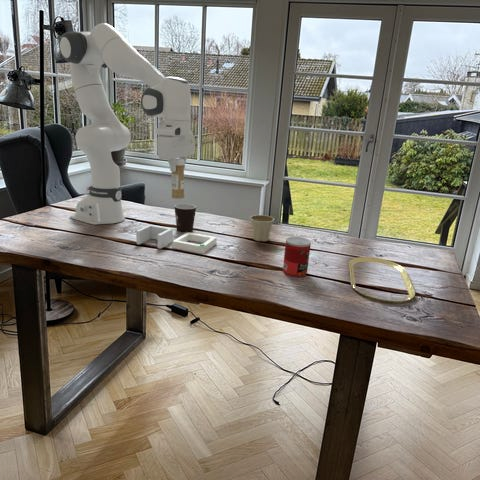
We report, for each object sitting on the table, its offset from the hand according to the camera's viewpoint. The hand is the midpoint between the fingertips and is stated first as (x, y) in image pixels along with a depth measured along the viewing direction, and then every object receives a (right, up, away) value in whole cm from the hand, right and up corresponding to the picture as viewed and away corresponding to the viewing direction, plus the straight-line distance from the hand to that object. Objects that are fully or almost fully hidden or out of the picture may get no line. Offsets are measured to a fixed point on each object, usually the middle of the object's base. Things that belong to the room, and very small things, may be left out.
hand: (177, 170), depth 146 cm
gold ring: (+66, -37, -9) cm, 77 cm away
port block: (+5, -26, +9) cm, 28 cm away
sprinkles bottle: (0, -9, +3) cm, 10 cm away
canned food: (+39, -35, -8) cm, 53 cm away
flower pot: (+29, -24, +22) cm, 44 cm away
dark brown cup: (-1, -20, +28) cm, 34 cm away
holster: (-10, -25, +9) cm, 29 cm away
